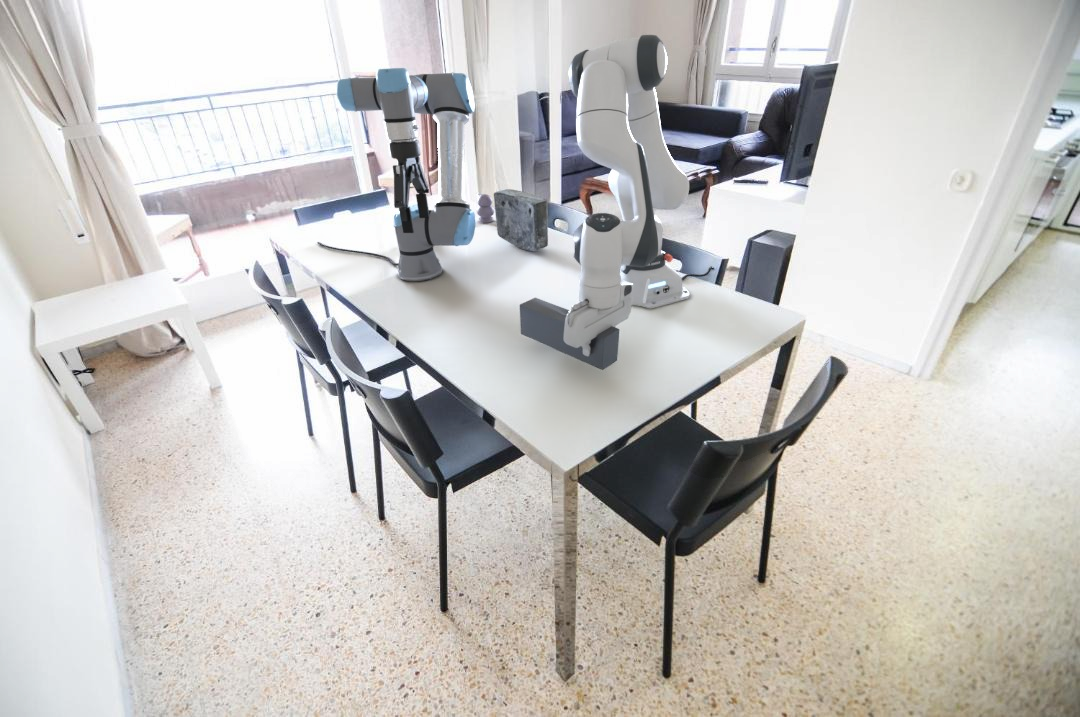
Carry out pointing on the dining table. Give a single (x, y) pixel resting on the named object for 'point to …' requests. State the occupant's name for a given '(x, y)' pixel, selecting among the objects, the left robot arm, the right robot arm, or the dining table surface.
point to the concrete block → (522, 219)
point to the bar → (548, 329)
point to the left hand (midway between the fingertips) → (417, 225)
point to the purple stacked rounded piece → (485, 208)
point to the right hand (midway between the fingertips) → (597, 348)
